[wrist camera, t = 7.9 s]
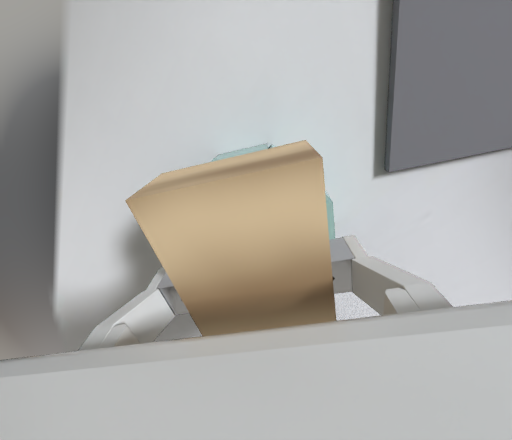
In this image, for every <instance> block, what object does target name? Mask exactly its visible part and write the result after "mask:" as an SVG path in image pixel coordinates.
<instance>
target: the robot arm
mask: <svg viewBox="0 0 512 440" xmlns="http://www.w3.org/2000/svg"><path fill="white" fill-rule="evenodd" d="M329 242H330V254H331V266H332V277H333V289H334V294H335V293H344V292H353V293H354V294H355V295H356V296H358V297H359V298H360V299H361V300H363V301H364V302H365V303H366V304H368V305H369V306H370V307H372V308H373V309H374V310H375V311H377V312H378V313H379V314H380V315H382V316H373V317H365V318H356V319H348V320H339V321H331V322H322V323H314V324H305V325H296V326H288V327H279V328H270V329H262V330H253V331H245V332H236V333H228V334H219V335H211V336H202V337H194V338H185V339H176V340H168V341H159V342H153V341H154V340H155V339H156V338H157V337H158V335H159V334H160V333H161V332H162V331H163V330H164V328H165V327H166V326H167V325H168V324H169V323H170V321H171V320H172V319H173V318H174V317H175V315H180V314H186V313H189V312H188V310H187V308H186V306H185V304H184V303H183V301H182V299H181V297H180V296H179V294H178V292H177V290H176V289H175V287H174V285H173V283H172V282H171V280H170V278H169V276H168V275H167V273H166V271H165V269H164V268H163V267H161V268H159V270H158V271H157V273H156V275H155V276H154V278H153V279H152V281H151V283H150V284H149V286H148V287H147V289H146V291H142V292H141V293H140V294H138V295H137V296H136V297H134V298H133V299H132V300H130V301H129V302H128V303H126V304H125V305H124V306H122V307H121V308H120V309H118V310H117V311H116V312H115V313H113V314H112V315H111V316H109V317H108V318H107V319H105V320H104V321H103V322H101V323H100V324H99V325H97V326H96V327H95V328H94V330H93V331H92V332H91V334H90V335H89V336H88V338H87V339H86V340H85V342H84V343H83V344H82V346H81V347H80V349H79V350H78V351H74V352H65V353H56V354H48V355H39V356H31V357H22V358H14V359H6V360H0V440H512V300H510V301H501V302H493V303H484V304H476V305H467V306H459V307H453V306H452V305H451V304H450V303H449V302H448V301H447V300H446V299H445V297H444V296H443V295H442V294H441V293H440V292H439V291H438V290H437V289H436V288H435V286H434V285H433V284H432V283H431V282H428V281H426V280H424V279H422V278H420V277H417V276H415V275H413V274H411V273H409V272H406V271H404V270H402V269H400V268H398V267H395V266H393V265H391V264H389V263H387V262H384V261H382V260H380V259H378V258H376V257H373V256H368V254H367V253H366V251H365V250H364V248H363V247H362V246H361V244H360V243H359V241H358V240H357V238H356V237H355V236H354V235H350V236H345V237H342V238H336V239H330V240H329Z"/></svg>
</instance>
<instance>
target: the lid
mask: <svg viewBox="0 0 512 440" xmlns="http://www.w3.org/2000/svg"><path fill="white" fill-rule="evenodd" d="M125 201H126V203H127V204H128V206H129V208H130V210H131V212H132V213H133V215H134V217H135V219H136V220H137V222H138V224H139V226H140V227H141V229H142V231H143V233H144V234H145V236H146V238H147V240H148V241H149V243H150V245H151V247H152V248H153V250H154V252H155V254H156V255H157V257H158V259H159V261H160V262H161V264H162V266H163V268H164V269H165V271H166V273H167V275H168V276H169V278H170V280H171V282H172V283H173V285H174V287H175V289H176V290H177V292H178V294H179V296H180V297H181V299H182V301H183V303H184V304H185V306H186V308H187V310H188V312H189V313H190V315H191V317H192V319H193V320H194V322H195V324H196V326H197V327H198V329H199V331H200V333H201V334H202V336H211V335H219V334H228V333H236V332H245V331H253V330H262V329H270V328H279V327H288V326H296V325H305V324H314V323H322V322H331V321H336V312H335V301H334V289H333V277H332V266H331V254H330V242H329V230H328V219H327V207H326V195H325V184H324V172H323V160H322V157H321V156H320V155H319V154H318V153H317V151H316V150H315V149H314V148H313V147H312V146H311V145H310V144H309V143H308V142H307V141H306V140H304V141H299V142H295V143H291V144H286V145H282V146H278V147H273V148H269V149H265V150H261V151H256V152H252V153H248V154H243V155H239V156H235V157H230V158H226V159H222V160H218V161H213V162H209V163H205V164H200V165H196V166H192V167H187V168H183V169H179V170H175V171H170V172H166V173H162V174H161V175H159V176H158V177H156V178H155V179H154V180H152V181H151V182H150V183H148V184H147V185H146V186H144V187H143V188H142V189H140V190H139V191H138V192H136V193H135V194H134V195H132V196H131V197H129V198H128V199H127V200H125Z"/></svg>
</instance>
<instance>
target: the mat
mask: <svg viewBox="0 0 512 440" xmlns="http://www.w3.org/2000/svg"><path fill="white" fill-rule="evenodd" d="M511 147H512V0H393V18H392V37H391V57H390V76H389V96H388V115H387V135H386V154H385V170H386V171H388V172H393V171H398V170H403V169H408V168H413V167H418V166H422V165H427V164H432V163H437V162H442V161H447V160H452V159H457V158H462V157H467V156H472V155H477V154H482V153H487V152H492V151H497V150H502V149H507V148H511Z"/></svg>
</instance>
